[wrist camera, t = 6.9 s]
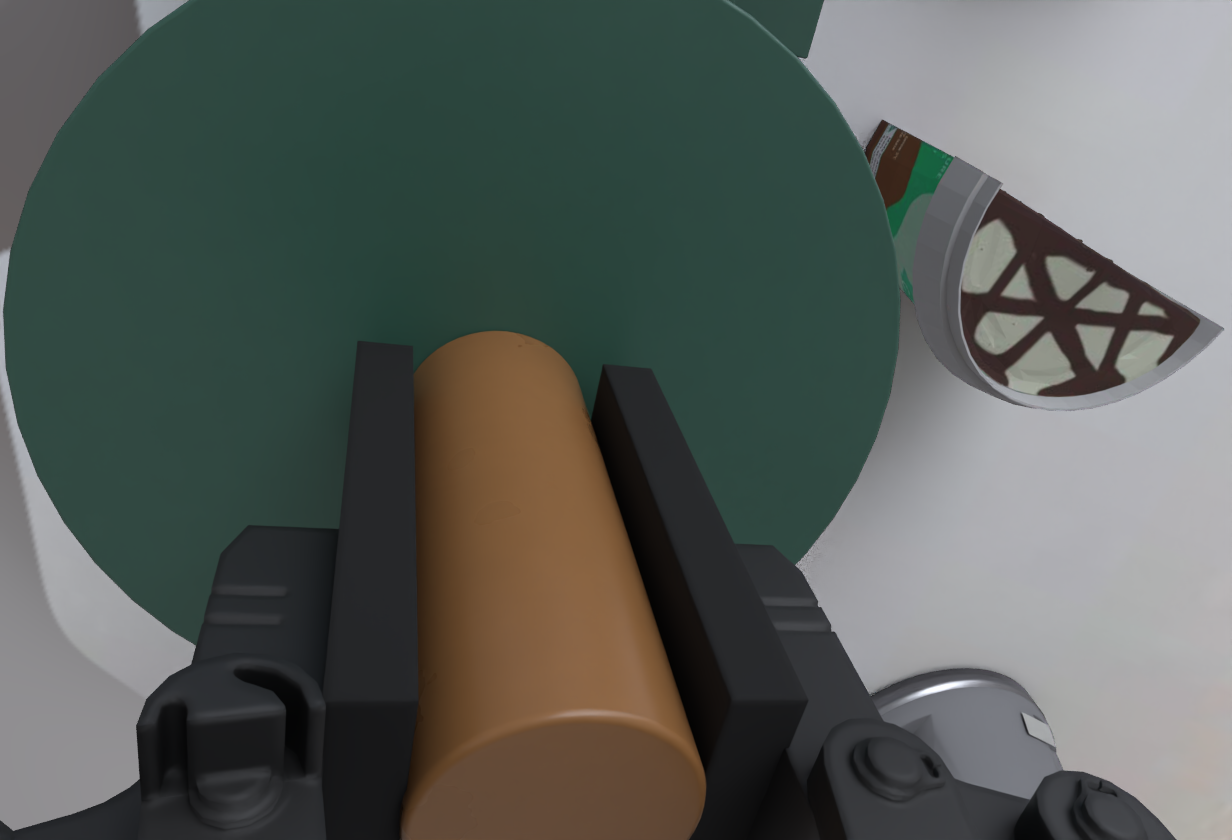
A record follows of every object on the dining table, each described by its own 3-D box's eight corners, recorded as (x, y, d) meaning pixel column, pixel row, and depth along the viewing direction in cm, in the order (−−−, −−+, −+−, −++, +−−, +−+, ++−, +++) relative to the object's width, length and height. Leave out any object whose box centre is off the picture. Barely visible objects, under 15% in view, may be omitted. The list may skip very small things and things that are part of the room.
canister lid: (753, 670, 21) (941, 1115, 13) (69, 665, 17) (-179, 1267, 10) (991, 21, 14) (1606, 198, 7) (-26, -203, 11) (-965, -325, 3)
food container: (765, 238, 38) (866, 344, 30) (853, 100, 36) (989, 174, 28) (975, 351, 43) (1112, 471, 35) (1064, 237, 41) (1234, 334, 32)
